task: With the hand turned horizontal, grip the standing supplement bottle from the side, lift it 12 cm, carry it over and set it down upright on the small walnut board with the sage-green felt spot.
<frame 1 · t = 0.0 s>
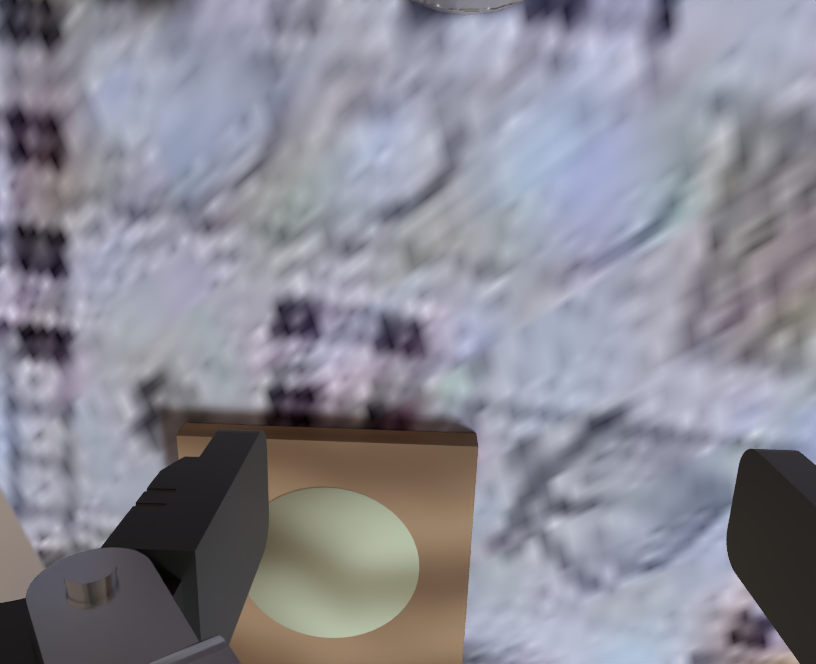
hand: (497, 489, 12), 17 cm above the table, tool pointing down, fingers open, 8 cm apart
walnut board: (331, 549, 33), on the table
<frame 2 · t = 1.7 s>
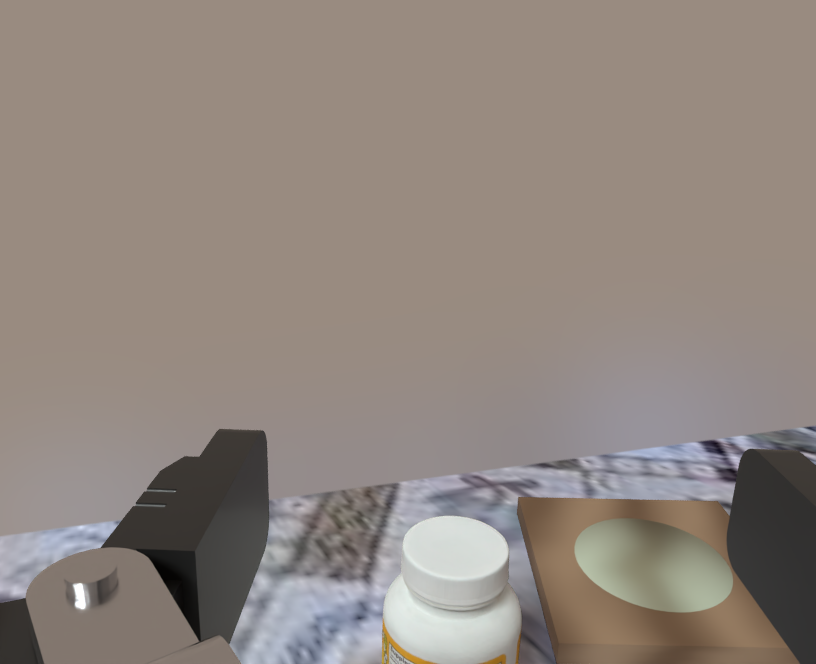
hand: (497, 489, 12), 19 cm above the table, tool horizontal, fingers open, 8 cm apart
walnut board: (648, 578, 39), on the table
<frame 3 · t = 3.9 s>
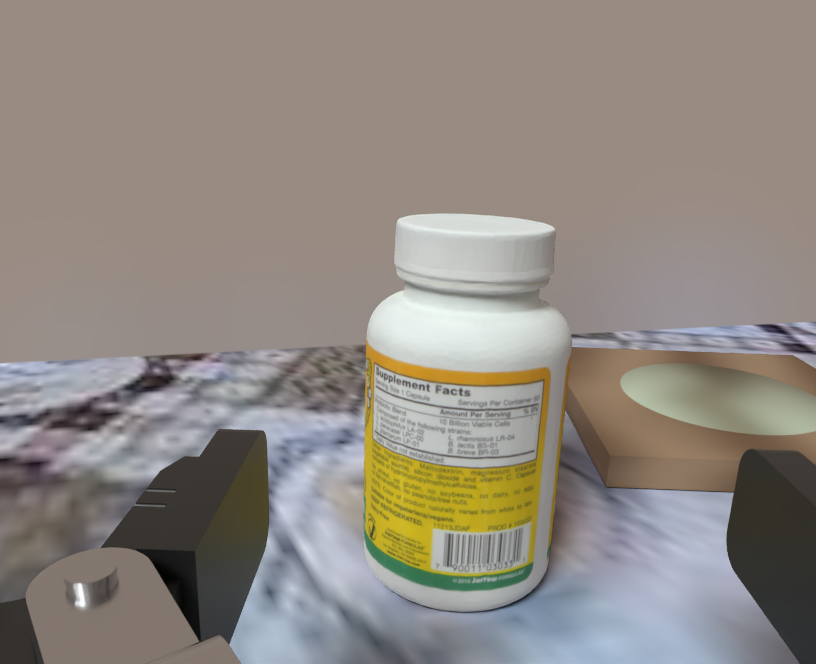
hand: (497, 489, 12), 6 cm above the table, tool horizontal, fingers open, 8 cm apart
supplement bottle: (454, 562, 20), on the table
walnut board: (716, 420, 30), on the table
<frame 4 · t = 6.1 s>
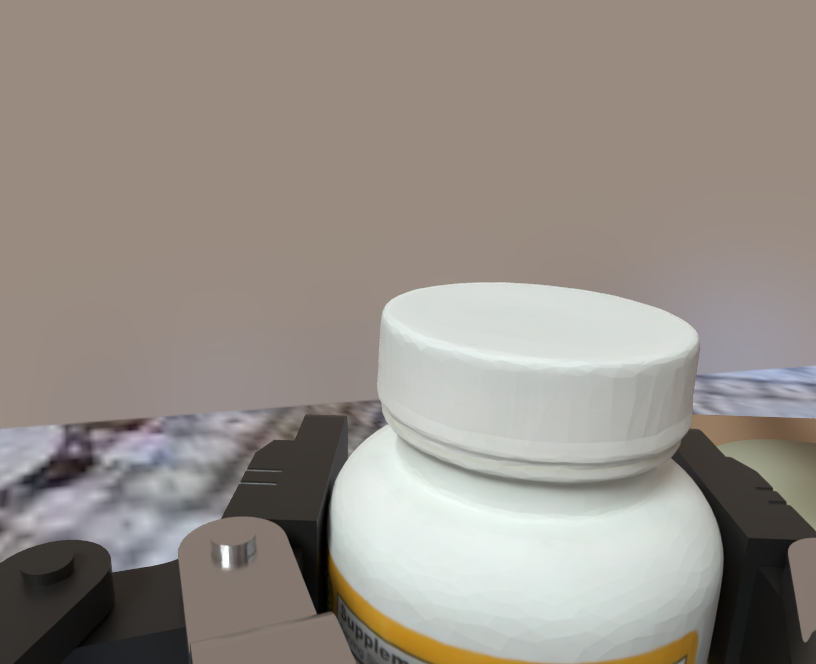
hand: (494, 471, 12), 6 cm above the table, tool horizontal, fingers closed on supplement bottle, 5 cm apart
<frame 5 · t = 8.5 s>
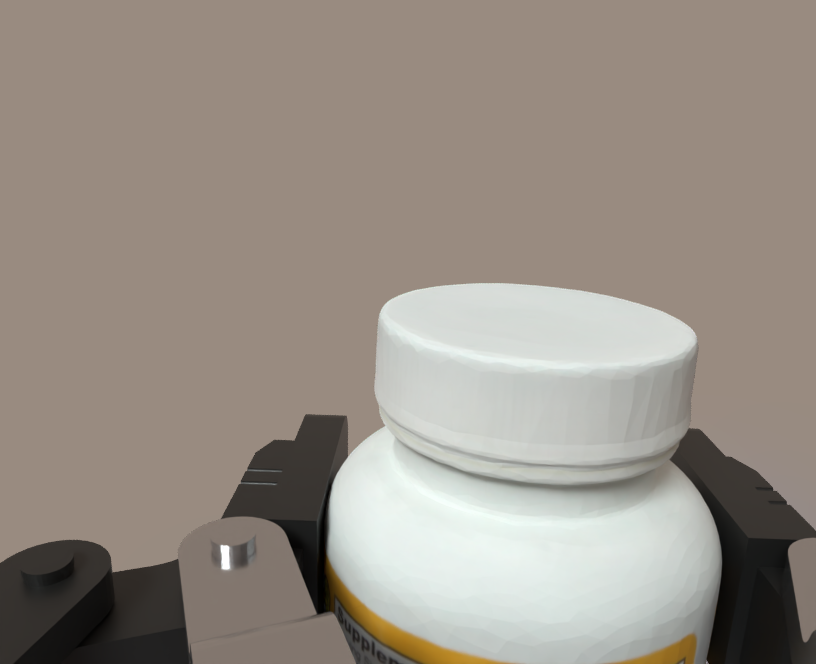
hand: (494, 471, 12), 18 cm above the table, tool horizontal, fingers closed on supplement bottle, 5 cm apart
when the fingers open (8 cm above the table, at t = 11.3 s): supplement bottle drops 1 cm, resting on walnut board.
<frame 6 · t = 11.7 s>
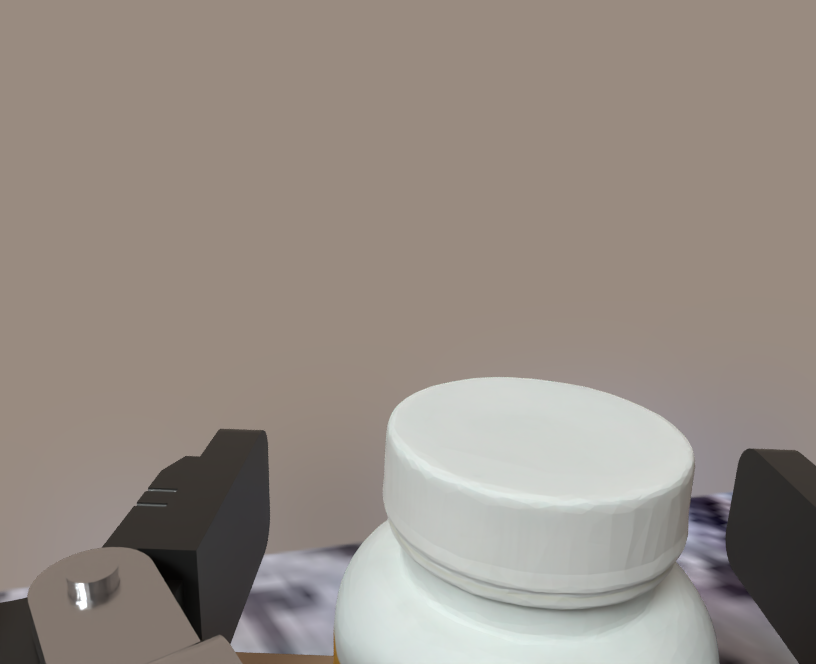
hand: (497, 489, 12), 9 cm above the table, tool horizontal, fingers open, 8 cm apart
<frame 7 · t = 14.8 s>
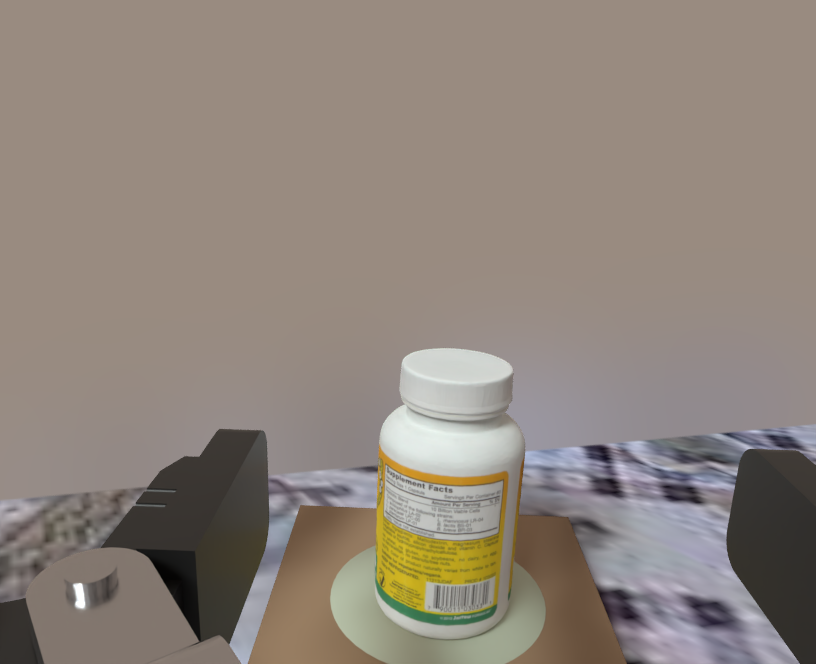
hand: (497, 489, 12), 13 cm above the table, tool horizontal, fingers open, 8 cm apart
supplement bottle: (441, 601, 27), point 1 cm above the table, touching walnut board
walnut board: (435, 621, 27), on the table
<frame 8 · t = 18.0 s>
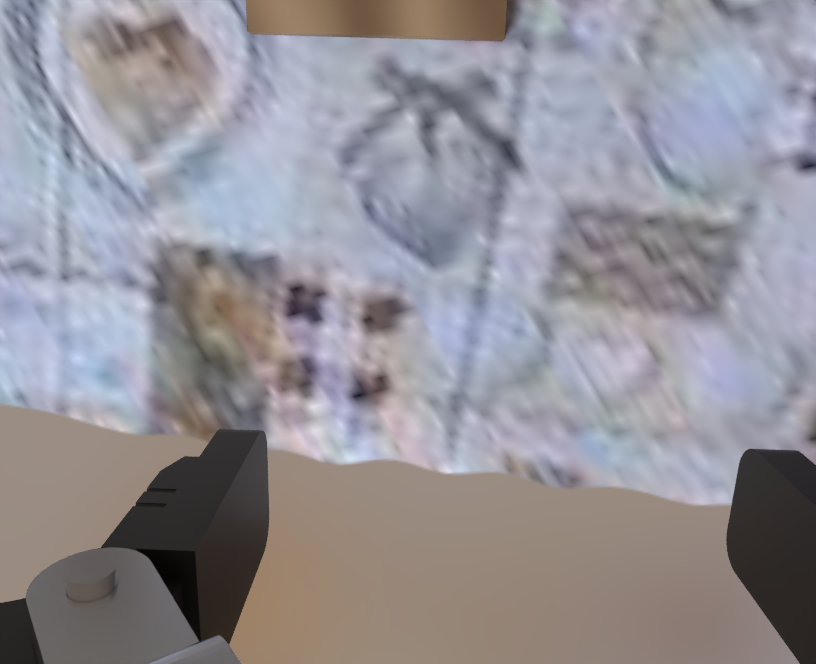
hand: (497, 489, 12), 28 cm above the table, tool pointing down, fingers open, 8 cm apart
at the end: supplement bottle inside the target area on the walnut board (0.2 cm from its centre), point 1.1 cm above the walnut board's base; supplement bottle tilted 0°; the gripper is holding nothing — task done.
